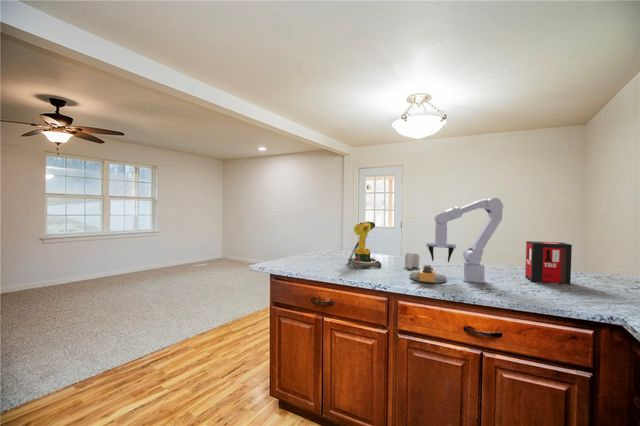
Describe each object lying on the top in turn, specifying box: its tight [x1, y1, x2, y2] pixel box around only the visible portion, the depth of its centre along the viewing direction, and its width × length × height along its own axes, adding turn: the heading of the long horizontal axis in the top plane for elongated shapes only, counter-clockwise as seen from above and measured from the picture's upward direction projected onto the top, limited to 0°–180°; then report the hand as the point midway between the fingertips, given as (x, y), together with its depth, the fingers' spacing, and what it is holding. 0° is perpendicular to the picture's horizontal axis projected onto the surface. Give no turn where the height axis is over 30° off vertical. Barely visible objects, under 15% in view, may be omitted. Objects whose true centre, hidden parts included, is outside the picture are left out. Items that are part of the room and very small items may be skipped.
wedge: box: [423, 264, 432, 273], centre depth 152 cm, size 3×4×7 cm, turn 158°
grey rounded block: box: [404, 252, 420, 270], centre depth 185 cm, size 8×10×10 cm
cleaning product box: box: [524, 240, 573, 286], centre depth 155 cm, size 16×9×20 cm, turn 73°
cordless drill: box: [347, 221, 382, 270], centre depth 192 cm, size 18×19×28 cm
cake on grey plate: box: [409, 266, 447, 285], centre depth 159 cm, size 18×18×6 cm
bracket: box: [411, 268, 436, 282], centre depth 153 cm, size 11×9×4 cm
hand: (440, 261), depth 159 cm, fingers open, 7 cm apart
